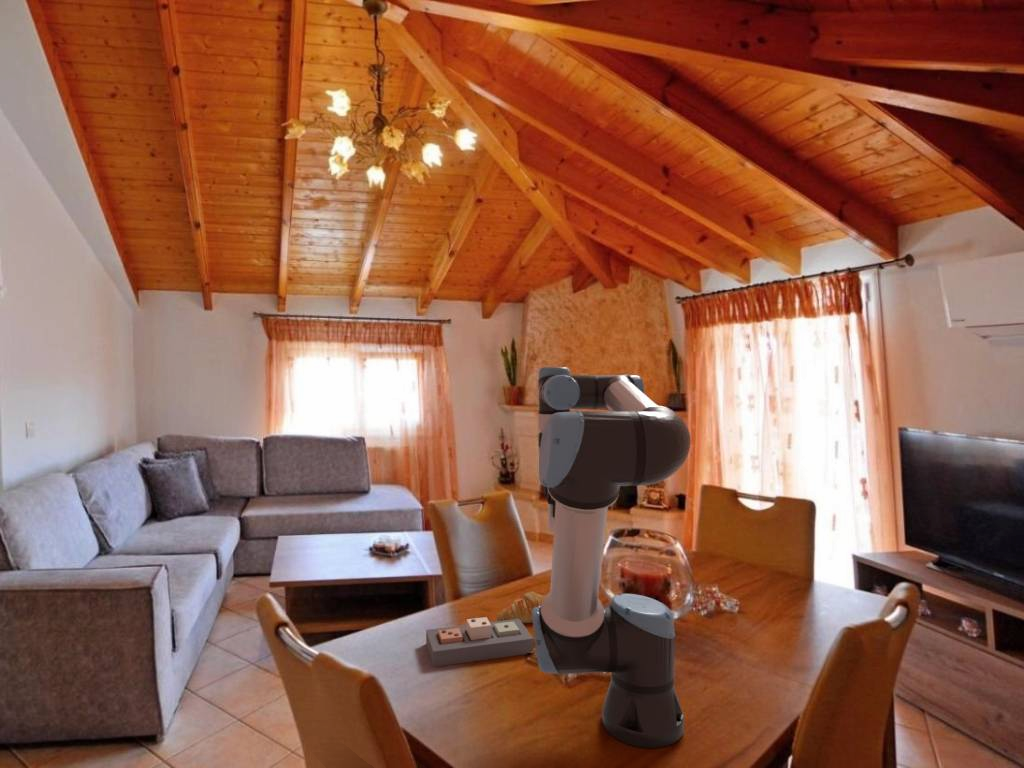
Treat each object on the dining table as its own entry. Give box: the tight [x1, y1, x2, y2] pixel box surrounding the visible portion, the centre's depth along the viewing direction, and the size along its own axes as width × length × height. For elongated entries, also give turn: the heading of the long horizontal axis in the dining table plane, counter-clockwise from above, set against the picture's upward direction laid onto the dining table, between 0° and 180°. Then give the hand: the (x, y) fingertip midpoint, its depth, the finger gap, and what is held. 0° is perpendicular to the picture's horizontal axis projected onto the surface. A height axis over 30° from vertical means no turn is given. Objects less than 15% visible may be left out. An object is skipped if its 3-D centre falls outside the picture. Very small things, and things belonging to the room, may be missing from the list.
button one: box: [494, 621, 519, 637], centre depth 144 cm, size 5×5×3 cm
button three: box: [438, 628, 463, 645], centre depth 140 cm, size 5×5×3 cm
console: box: [425, 619, 534, 668], centre depth 142 cm, size 12×24×4 cm, turn 106°
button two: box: [466, 616, 491, 640], centre depth 142 cm, size 5×5×3 cm
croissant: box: [496, 591, 547, 624], centre depth 161 cm, size 21×10×8 cm
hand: (554, 529), depth 140 cm, fingers closed
